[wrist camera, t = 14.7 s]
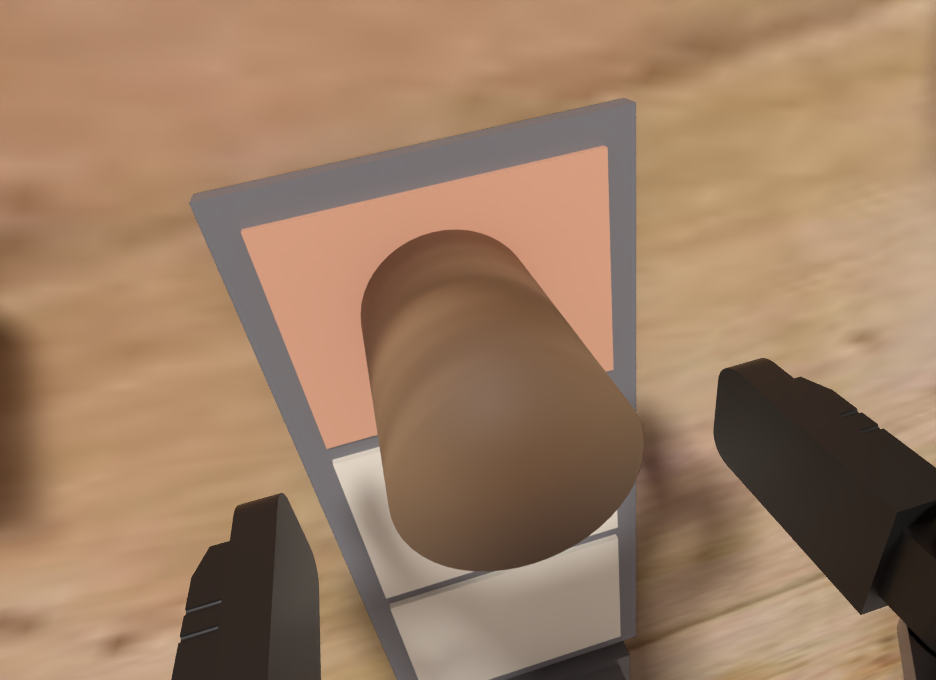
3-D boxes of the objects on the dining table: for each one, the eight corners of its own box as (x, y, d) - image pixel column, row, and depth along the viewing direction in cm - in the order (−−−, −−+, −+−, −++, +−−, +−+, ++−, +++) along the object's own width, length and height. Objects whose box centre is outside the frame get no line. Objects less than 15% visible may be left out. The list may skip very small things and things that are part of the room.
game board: (408, 696, 25) (411, 716, 24) (193, 193, 13) (187, 205, 12) (629, 623, 26) (638, 640, 25) (624, 98, 14) (639, 103, 13)
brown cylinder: (383, 403, 16) (418, 598, 11) (339, 254, 13) (356, 415, 8) (539, 361, 16) (642, 530, 11) (523, 210, 14) (645, 339, 9)
